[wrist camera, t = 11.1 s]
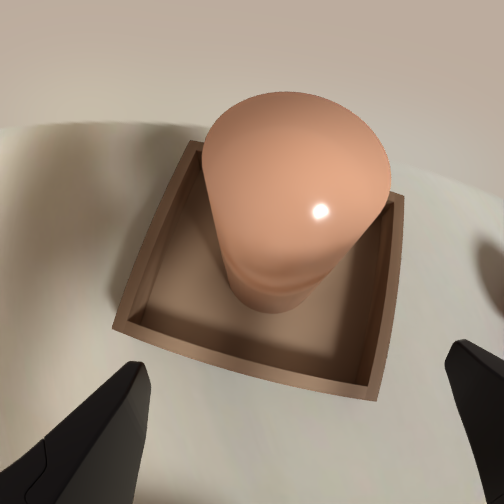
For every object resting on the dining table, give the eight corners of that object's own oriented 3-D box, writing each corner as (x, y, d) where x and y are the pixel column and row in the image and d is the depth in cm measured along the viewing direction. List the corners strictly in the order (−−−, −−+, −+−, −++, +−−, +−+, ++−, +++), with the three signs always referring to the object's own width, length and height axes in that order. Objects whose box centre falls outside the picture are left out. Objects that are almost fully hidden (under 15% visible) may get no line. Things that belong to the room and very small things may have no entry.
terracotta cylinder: (334, 273, 20) (421, 172, 9) (267, 333, 19) (298, 290, 8) (275, 211, 22) (298, 73, 10) (207, 263, 20) (165, 146, 9)
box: (388, 214, 23) (404, 196, 20) (358, 397, 18) (376, 401, 15) (195, 164, 24) (190, 140, 21) (129, 333, 19) (111, 328, 16)
